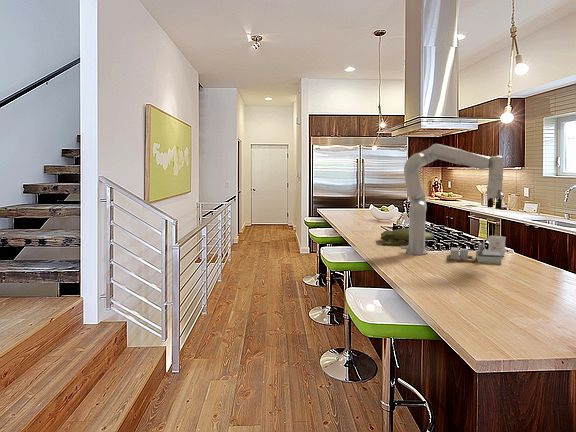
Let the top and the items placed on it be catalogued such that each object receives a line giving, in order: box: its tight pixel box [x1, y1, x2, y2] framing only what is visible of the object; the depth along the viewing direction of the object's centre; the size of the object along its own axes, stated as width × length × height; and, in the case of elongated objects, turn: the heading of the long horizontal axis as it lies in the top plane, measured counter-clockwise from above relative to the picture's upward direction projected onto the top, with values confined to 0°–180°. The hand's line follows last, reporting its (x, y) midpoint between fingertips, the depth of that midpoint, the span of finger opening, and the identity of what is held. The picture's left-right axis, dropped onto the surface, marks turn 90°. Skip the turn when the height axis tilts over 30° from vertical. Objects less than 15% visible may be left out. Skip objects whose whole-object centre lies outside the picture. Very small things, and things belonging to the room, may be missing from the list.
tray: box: [446, 254, 476, 263], centre depth 276 cm, size 14×13×1 cm
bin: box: [475, 252, 503, 265], centre depth 272 cm, size 12×12×4 cm
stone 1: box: [449, 246, 460, 259], centre depth 278 cm, size 4×4×6 cm
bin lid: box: [475, 241, 503, 258], centre depth 271 cm, size 12×12×6 cm
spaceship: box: [380, 227, 435, 247], centre depth 332 cm, size 35×31×10 cm
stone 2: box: [449, 248, 460, 259], centre depth 273 cm, size 4×4×6 cm
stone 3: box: [459, 248, 469, 260], centre depth 275 cm, size 4×4×6 cm
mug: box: [482, 235, 507, 257], centre depth 287 cm, size 12×9×11 cm
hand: (494, 208), depth 278 cm, fingers open, 9 cm apart
